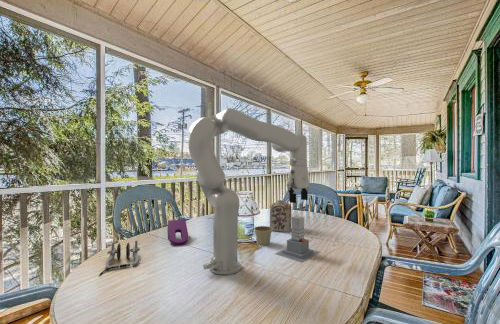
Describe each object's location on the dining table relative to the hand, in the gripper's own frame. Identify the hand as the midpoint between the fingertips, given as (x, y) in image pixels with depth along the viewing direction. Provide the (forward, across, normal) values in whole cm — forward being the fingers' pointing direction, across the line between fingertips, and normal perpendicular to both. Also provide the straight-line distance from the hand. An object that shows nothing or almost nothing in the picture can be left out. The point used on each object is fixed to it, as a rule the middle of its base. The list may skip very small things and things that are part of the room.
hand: (298, 201), depth 115 cm
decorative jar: (+25, +30, +31) cm, 50 cm away
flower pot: (+24, -1, +20) cm, 32 cm away
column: (+22, -1, 0) cm, 22 cm away
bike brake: (+24, -57, +49) cm, 79 cm away
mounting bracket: (+24, -25, +59) cm, 69 cm away
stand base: (+24, -1, 0) cm, 24 cm away
